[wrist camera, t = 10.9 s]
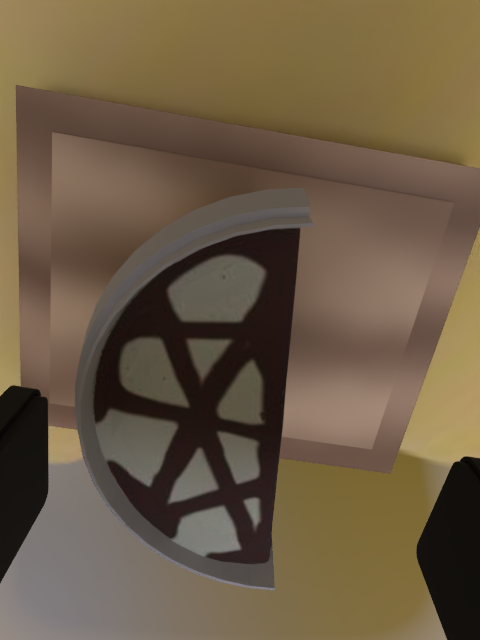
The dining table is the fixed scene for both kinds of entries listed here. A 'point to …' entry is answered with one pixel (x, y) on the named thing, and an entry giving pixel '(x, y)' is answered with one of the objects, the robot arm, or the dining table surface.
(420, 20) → the dining table surface
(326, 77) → the dining table surface
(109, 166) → the board
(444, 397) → the dining table surface
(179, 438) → the food container
